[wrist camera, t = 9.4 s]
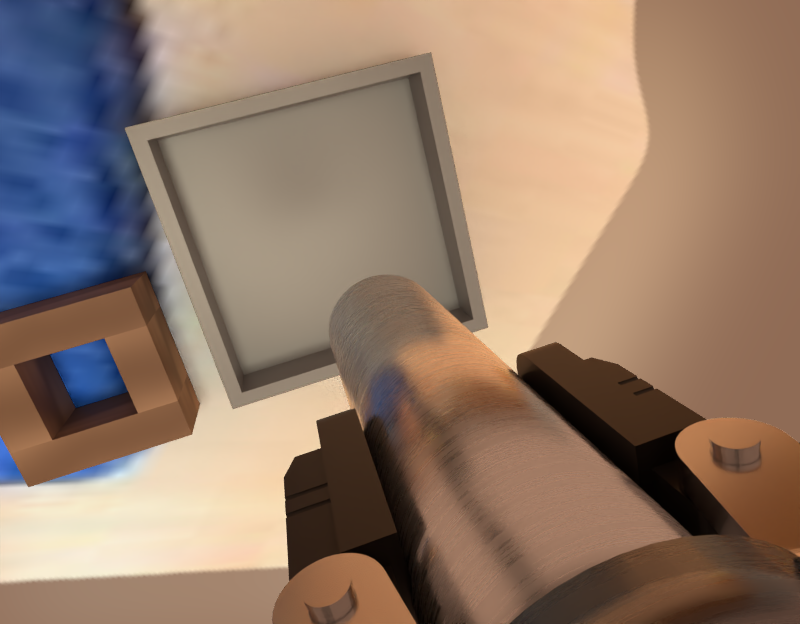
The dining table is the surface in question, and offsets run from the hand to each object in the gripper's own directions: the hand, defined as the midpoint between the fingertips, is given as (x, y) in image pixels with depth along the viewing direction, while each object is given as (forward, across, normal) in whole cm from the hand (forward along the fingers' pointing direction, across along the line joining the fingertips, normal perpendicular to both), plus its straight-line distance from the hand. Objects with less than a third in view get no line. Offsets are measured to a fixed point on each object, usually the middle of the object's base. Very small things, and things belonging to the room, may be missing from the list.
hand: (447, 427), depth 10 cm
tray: (+26, 0, 0) cm, 26 cm away
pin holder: (+26, +15, +4) cm, 30 cm away
